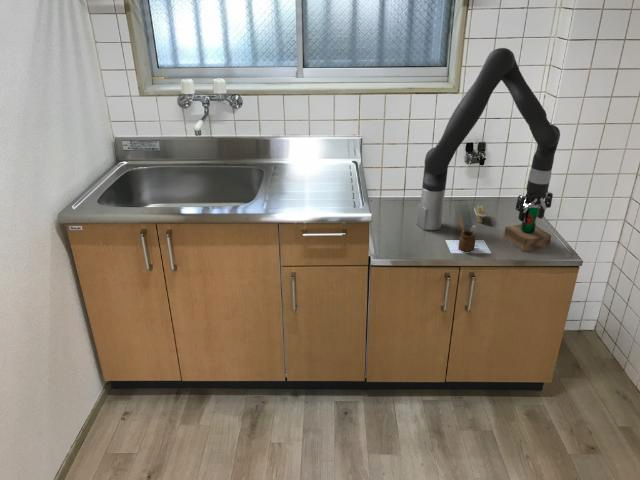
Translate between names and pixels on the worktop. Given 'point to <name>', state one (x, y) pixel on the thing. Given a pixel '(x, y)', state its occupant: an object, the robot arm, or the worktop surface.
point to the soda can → (530, 219)
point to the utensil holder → (467, 240)
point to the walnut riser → (527, 238)
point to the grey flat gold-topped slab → (479, 213)
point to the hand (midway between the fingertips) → (530, 219)
